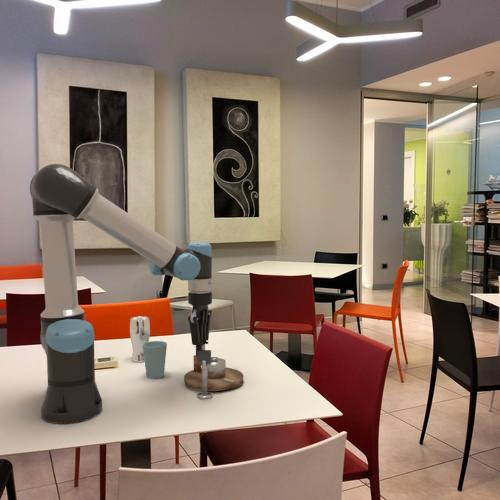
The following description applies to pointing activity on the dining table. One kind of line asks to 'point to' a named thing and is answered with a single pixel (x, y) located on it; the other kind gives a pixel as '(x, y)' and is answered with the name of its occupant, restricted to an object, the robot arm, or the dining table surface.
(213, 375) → the cover
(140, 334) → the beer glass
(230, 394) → the dining table surface
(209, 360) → the indicator post
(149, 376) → the cup
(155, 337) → the dining table surface
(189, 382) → the turntable
